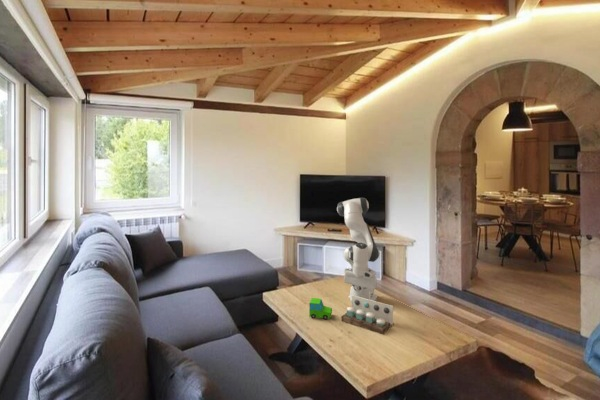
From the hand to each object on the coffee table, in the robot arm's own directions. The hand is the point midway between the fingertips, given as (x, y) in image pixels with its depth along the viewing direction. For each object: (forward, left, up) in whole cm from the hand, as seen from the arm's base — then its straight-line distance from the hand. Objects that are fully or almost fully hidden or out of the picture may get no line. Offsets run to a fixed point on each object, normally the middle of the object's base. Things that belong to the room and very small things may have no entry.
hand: (359, 292), depth 208 cm
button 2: (+1, +1, -15) cm, 15 cm away
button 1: (+1, -5, -15) cm, 16 cm away
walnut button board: (+1, +5, -18) cm, 19 cm away
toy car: (+8, -23, -19) cm, 30 cm away
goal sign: (-8, +5, -18) cm, 21 cm away
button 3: (+1, +8, -15) cm, 17 cm away
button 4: (+1, +14, -17) cm, 22 cm away
